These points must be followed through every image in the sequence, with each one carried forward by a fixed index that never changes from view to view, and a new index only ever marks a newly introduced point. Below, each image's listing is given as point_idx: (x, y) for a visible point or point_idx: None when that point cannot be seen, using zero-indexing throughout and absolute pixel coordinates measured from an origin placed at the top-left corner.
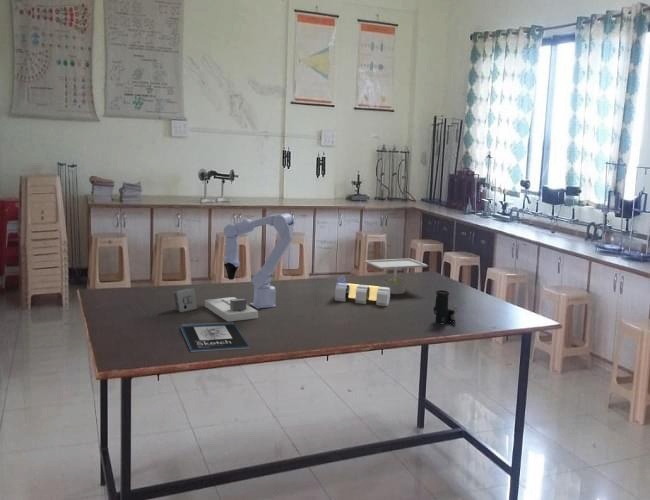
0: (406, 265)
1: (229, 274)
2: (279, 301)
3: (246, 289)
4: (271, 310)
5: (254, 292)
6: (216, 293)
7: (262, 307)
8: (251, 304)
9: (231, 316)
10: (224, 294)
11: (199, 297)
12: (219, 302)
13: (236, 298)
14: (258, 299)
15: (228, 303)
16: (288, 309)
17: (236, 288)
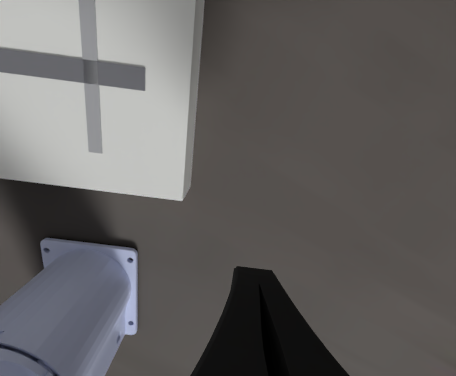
0: None
1: (221, 322)
2: (137, 370)
3: (392, 365)
4: (3, 275)
5: (37, 305)
6: (438, 212)
7: (45, 263)
8: (113, 247)
9: None
10: (388, 239)
11: (439, 60)
12: (73, 11)
13: (141, 195)
14: (30, 280)
15: (17, 64)
16: None
17: (442, 342)
